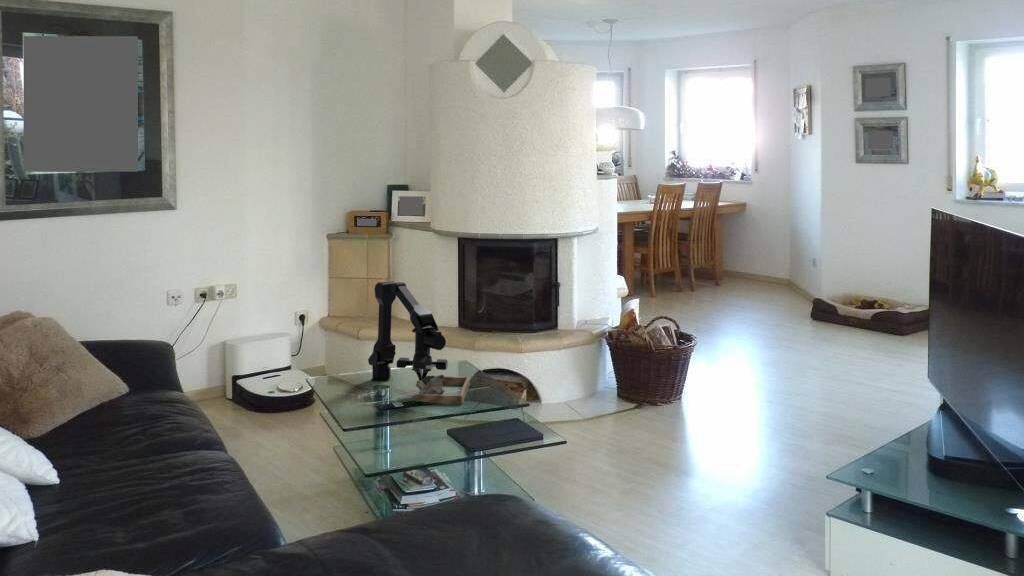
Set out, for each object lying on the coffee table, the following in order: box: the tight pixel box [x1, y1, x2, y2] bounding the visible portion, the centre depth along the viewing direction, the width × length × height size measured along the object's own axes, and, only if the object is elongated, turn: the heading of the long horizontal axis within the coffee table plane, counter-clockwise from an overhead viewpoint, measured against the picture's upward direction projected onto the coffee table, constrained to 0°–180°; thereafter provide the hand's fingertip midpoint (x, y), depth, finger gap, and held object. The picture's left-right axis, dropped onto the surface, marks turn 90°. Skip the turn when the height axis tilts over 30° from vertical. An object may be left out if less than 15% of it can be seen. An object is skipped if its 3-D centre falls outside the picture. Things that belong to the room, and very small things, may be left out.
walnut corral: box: [414, 375, 471, 405], centre depth 350 cm, size 17×28×3 cm, turn 177°
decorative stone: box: [415, 374, 445, 395], centre depth 345 cm, size 16×9×10 cm
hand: (422, 385), depth 350 cm, fingers closed
